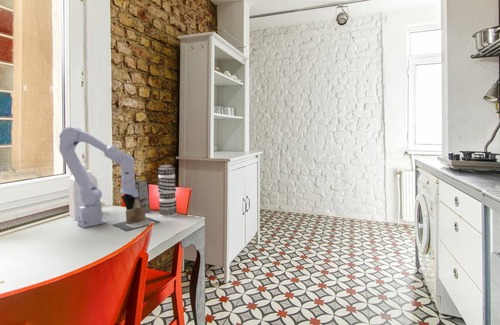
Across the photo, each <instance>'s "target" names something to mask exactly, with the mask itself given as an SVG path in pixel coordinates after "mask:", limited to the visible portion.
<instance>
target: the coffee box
mask: <svg viewBox="0 0 500 325" xmlns="http://www.w3.org/2000/svg"><path fill="white" fill-rule="evenodd" d="M149 182H150V181H149V180H143V179H135V190H138V191H137V192H138V193H139V197H136V199H135V202H134V205H133V209H135V208H140V207H145V213H146V212H150V211H151V207H150V204H151V203H150V186H149Z"/></svg>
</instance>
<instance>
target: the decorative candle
mask: <svg viewBox="0 0 500 325" xmlns="http://www.w3.org/2000/svg"><path fill="white" fill-rule="evenodd" d="M156 181H157V188H158V190H157V192H158V194H159V200H158V204H159V205H158V207H159V208H158V211H159V212H158V213H159V217H160V218H172V217H176V216H178V213H177V212H178V210H177V209H178V207H177V198H176V192H177V189H176V188H177V185H176V184H177V178H176V174H175V167H174V166H173V165H172V164H163V165H160V166H159V168H158V176H157V179H156Z"/></svg>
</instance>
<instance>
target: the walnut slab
mask: <svg viewBox="0 0 500 325" xmlns="http://www.w3.org/2000/svg"><path fill="white" fill-rule="evenodd" d="M145 217H146V212H145V207H140V208H135V209H130V210H127V209H125V218H126V219H125V220H126V222H127V224H132V223H136V222H140V221H144V220H145Z"/></svg>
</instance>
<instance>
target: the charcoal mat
mask: <svg viewBox="0 0 500 325" xmlns="http://www.w3.org/2000/svg"><path fill="white" fill-rule="evenodd" d="M151 222H154V223H155V224H159V223H161V221H160V220H157V219H153V218H151V217H147V216H145V220H144V221H140V222H136V223H132V224H127V222H126V221H121V222H117V223H113V224H112V226H113V227H116V228H118V229H121V230H123V231H125V232H128V231H133V230H136V229H140V228H144V227H147V226H148V225H149V224H150V223H151ZM155 224H154V225H155ZM149 226H150V225H149ZM149 226H148V227H149Z"/></svg>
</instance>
